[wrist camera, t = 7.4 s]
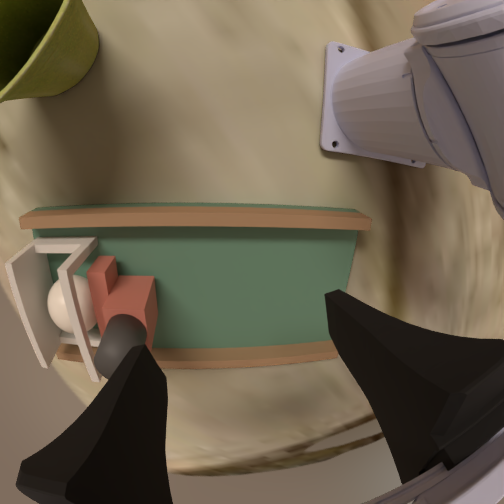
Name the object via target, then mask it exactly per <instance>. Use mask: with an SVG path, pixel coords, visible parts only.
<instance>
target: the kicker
mask: <svg viewBox="0 0 504 504" xmlns="http://www.w3.org/2000/svg"><path fill="white" fill-rule="evenodd" d="M86 273H87V279H88V284H89V289H90V293H91V298H92V303H93V307H94V311H95V315H96V319H97V323H98V327H99V331H100V334H101V341H100V343H99V346H98V349H97V351H96V354H95V356H94V365H95V367H96V369H97V371H98V372H99V373H100V374H101V375H102V376H104V377H105V378H107V379H110V377H111V376H112V374H113V373H114V371H115V370H116V368H117V367H118V366H119V364H120V363H121V361H122V360H123V358H124V357H125V356H126V354H127V353H128V352H129V350H130V349H131V348H132V347H134V346H139V345H143V344H146V346H147V348H148V349H149V351H151V349H152V344H153V338H154V333H155V328H156V323H157V318H158V307H157V298H156V288H155V278H154V276H123V275H119V276H118V272H117V265H116V257H115V256H98V257H97V259H96V260H95V261H94V263H93V264H92V265H91V267H90V268H89V269H88V271H87V272H86Z"/></svg>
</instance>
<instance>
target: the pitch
mask: <svg viewBox="0 0 504 504" xmlns="http://www.w3.org/2000/svg"><path fill="white" fill-rule="evenodd" d="M19 221H20V228H21V229H32V231H33V237H34V239H36V238H37V237H68V236H97V239H98V245H97V247H96V248H95V249H94V250H93V251H92V252H91V254H90V255H89V256H88V257H87V258H86V259H85V261H84V262H83V263H82V264H81V266H80V267H79V268H78V269H77V270H76V272H75V273H74V274H73V275H79V276H82V277H85V278H87V273H86V272H87V271H88V269H89V268H90V267H91V265H92V264H93V263H94V261H95V260H96V259H97V257H98V256H115V257H116V265H117V272H118V276H119V275H123V276H154V278H155V288H156V298H157V307H158V318H157V323H156V328H155V333H154V338H153V344H152V349H151V351H150V353H151V354H152V356H153V357H154V359H155V361H156V362H157V364H158V365H159V367H160V368H177V369H205V368H237V367H255V366H269V365H281V364H291V363H301V362H309V361H317V360H325V359H332V358H337V356H338V351H337V349H336V347H335V345H334V343H333V341H332V339H331V337H330V335H329V330H328V321H327V312H326V304H325V296H324V294H326V293H329V292H332V291H334V290H337V289H340V290H342V291H343V292H345V291H346V287H347V283H348V278H349V274H350V269H351V265H352V260H353V255H354V250H355V245H356V240H357V235H358V230H370V228H371V222H372V219H371V218H369V217H368V216H366V215H364V214H362V213H360V212H359V211H357V210H355V209H343V208H328V207H311V206H292V205H269V204H237V203H126V204H96V205H74V206H57V207H42V208H35V209H34V210H32V211H30V212H28V213H26V214H25V215H23V216H21V217H19ZM71 254H72V253H47V258H48V262H49V267H50V272H51V276H52V280H53V284H54V283H55V282H56V281H57V280H59V277H58V272H57V269H58V268H59V267H60V266H61V265H62V264H63V263H64V262H65V261H66V259H67V258H68V257H69V256H70V255H71ZM93 328H96V329H99V327H98V323H96V324H95V326H94V327H93ZM91 347H92V350H93V353H94V356H95V354H96V351H97V349H98V347H94V346H91ZM56 354H57V357H58V359H62V360H69V361H76V362H84V360H83V357H82V355H81V352H80V349H79V346H78V345H74V344H66V343H61V344H60V346H59V348H58V350H57V352H56Z"/></svg>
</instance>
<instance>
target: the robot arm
mask: <svg viewBox="0 0 504 504" xmlns="http://www.w3.org/2000/svg"><path fill="white" fill-rule="evenodd" d="M411 33H412V34H413V36H414V37H413V38H410V39H407V40H404V41H401V42H398V43H395V44H392V45H389V46H387V47H384V48H381V49H378V50H376V51H373V52H368V51H365V50H362V49H358V48H355V47H352V46H348V45H345V44H341V43H338V42H333V41H332V42H329V43H328V44H327V45H326V56H325V77H324V94H323V109H322V122H321V134H320V146H321V148H322V149H323V150H326V151H333V152H339V153H346V154H352V155H358V156H364V157H370V158H375V159H381V160H386V161H391V162H395V163H400V164H405V165H409V166H414V167H418V168H424V167H425V165H426V163H428V164H433V165H437V166H441V167H445V168H449V169H452V170H456V171H460V172H462V173H464V174H466V175H467V176H468V178H469V179H470V181H471V183H472V185H474V186H477V187H480V188H483V189H486V190H489V191H490V194H491V197H492V201H493V204H494V206H495V208H496V210H497V212H498V214H499V215H500V216H501V218H502V219H503V220H504V0H436V1H434V2H432V3H430V4H428V5H426V6H425V7H423V8H421V9H420V10H418V11H417V12H416V13H415V14H414V21H413V26H412V28H411ZM338 47H339V48H341V49H342V53H341V52H339V51H338ZM333 141H335V142H336V144H337V145H336V147H335V148H333V146H332V142H333ZM411 160H413V161H412V162H411ZM324 296H325V304H326V312H327V321H328V330H329V335H330V337H331V339H332V341H333V343H334V345H335V347H336V349H337V351H338V353H339V355H340V357H341V358H342V360H343V361H344V363H345V364H346V366H347V368H348V369H349V371H350V372H351V374H352V375H353V377H354V378H355V380H356V381H357V383H358V385H359V386H360V388H361V389H362V391H363V392H364V394H365V396H366V398H367V399H368V401H369V403H370V405H371V407H372V409H373V411H374V414H375V416H376V418H377V420H378V422H379V424H380V427H381V429H382V431H383V434H384V436H385V438H386V441H387V443H388V445H389V448H390V451H391V453H392V456H393V459H394V462H395V464H396V467H397V470H398V473H399V476H400V479H401V483H402V485H401V486H400V487H397V488H395V489H393V490H391V491H389V492H387V493H385V494H383V495H381V496H379V497H376V498H374V499H372V500H370V501H367V502H365V503H362V504H407V503H409V502H411V501H413V500H414V499H415V500H414V501H413V503H412V504H496V503H497V502H499V501H500V500H501V499H502V497H504V340H503V339H477V338H468V337H460V336H454V335H448V334H444V333H439V332H435V331H431V330H428V329H424V328H421V327H418V326H415V325H412V324H409V323H406V322H404V321H401V320H399V319H397V318H394V317H392V316H390V315H387V314H385V313H383V312H381V311H379V310H377V309H375V308H373V307H371V306H369V305H367V304H365V303H363V302H362V301H360V300H358V299H356V298H354V297H352V296H351V295H349V294H347V293H345V292H343V291H342V290H340V289H337V290H334V291H332V292H329V293H326V294H324ZM167 406H168V393H167V379H166V376H165V375H164V373H163V372H162V370H161V369H160V367H159V365H158V364H157V362H156V361H155V359H154V357H153V356H152V354H151V353H150V351H149V349H148V348H147V346H146V344H143V345H139V346H134V347H132V348H131V349H130V350H129V352H128V353H127V354H126V356H125V357H124V358H123V360H122V361H121V363H120V364H119V366H118V367H117V368H116V370H115V371H114V373H113V374H112V376H111V377H110V379H109V380H108V381H107V383H106V384H105V386H104V387H103V388H102V389H101V391H100V392H99V393H98V395H97V396H96V397H95V399H94V400H93V401H92V403H91V404H90V405H89V406H88V407H87V409H86V410H85V411H84V412H83V413H82V414H81V415H80V416H79V417H78V419H77V420H76V421H75V422H74V423H73V424H72V425H70V426H69V427H68V428H67V429H66V430H65V431H64V432H63V433H62V434H61V435H60V436H58V437H57V438H56V439H55V440H54V441H52V442H51V443H50V444H48V445H47V446H46V447H44V448H43V449H41V450H40V451H38V452H37V453H35V454H33V455H32V456H30V457H28V458H27V459H25V460H23V461H22V463H21V466H20V470H19V474H18V478H17V481H16V487H17V488H18V489H19V491H21V492H22V493H23V494H25V495H26V496H28V497H29V498H31V499H32V500H34V501H36V502H37V503H39V504H173V502H172V497H171V493H170V487H169V480H168V474H167V465H166V454H165V441H166V422H167Z"/></svg>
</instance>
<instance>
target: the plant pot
mask: <svg viewBox="0 0 504 504" xmlns="http://www.w3.org/2000/svg"><path fill="white" fill-rule="evenodd" d="M98 48H99V39H98V32H97V29H96V27H95V25H94V23H93V21H92V19H91V18H90V16H89V14H88V12H87V10H86V8H85V6H84V4H83V2H82V0H0V103H2V102H4V101H7V100H15V99H23V98H33V97H46V96H55V95H58V94H60V93H62V92H64V91H66V90H68V89H69V88H71V87H73V86H75V85H76V84H77V83H78V82H79V81H80V80H81V79H82V78H83V77H84V76H85V75H86V73H87V72H88V71H89V69H90V68H91V66H92V64H93V62H94V60H95V58H96V55H97V52H98Z"/></svg>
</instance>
